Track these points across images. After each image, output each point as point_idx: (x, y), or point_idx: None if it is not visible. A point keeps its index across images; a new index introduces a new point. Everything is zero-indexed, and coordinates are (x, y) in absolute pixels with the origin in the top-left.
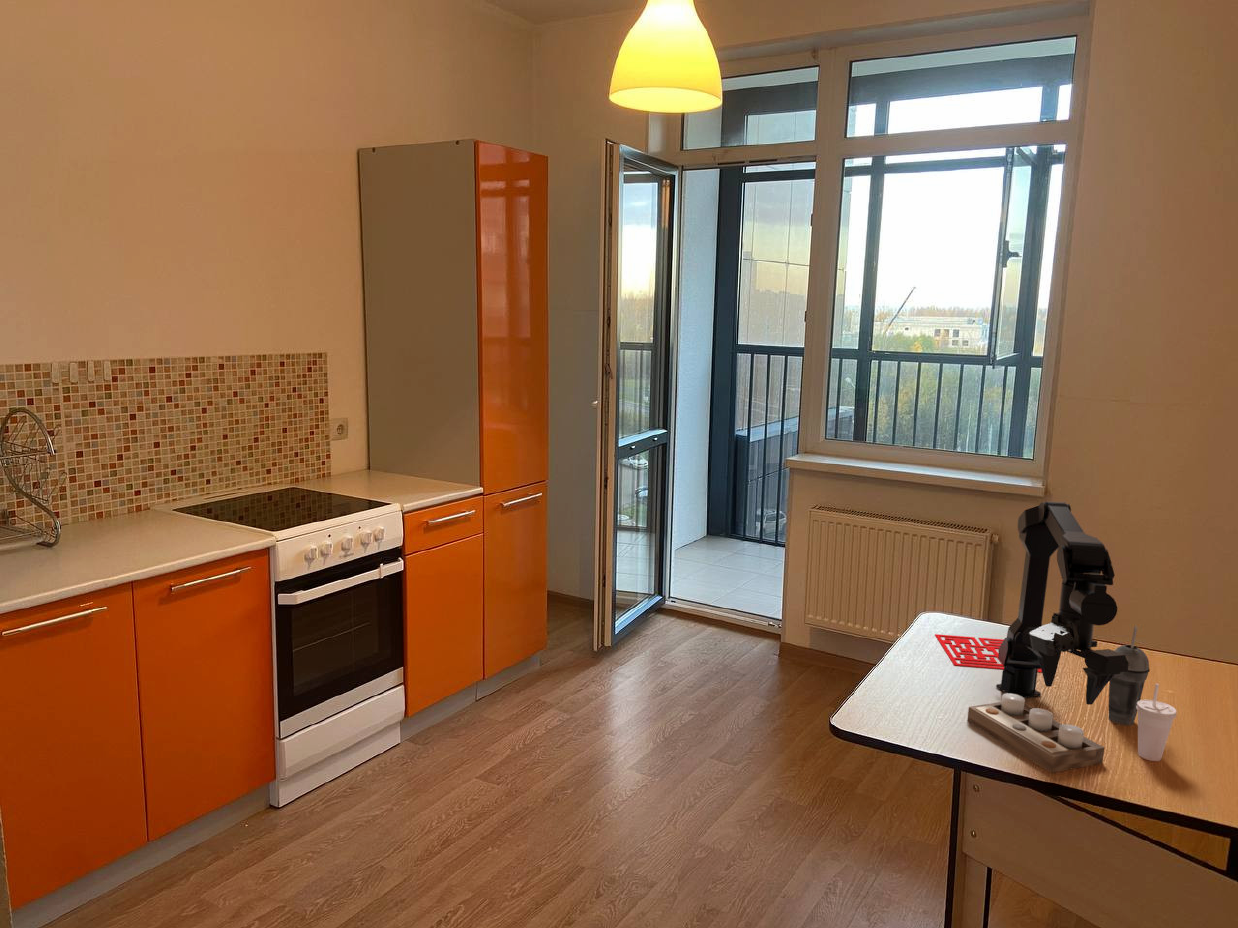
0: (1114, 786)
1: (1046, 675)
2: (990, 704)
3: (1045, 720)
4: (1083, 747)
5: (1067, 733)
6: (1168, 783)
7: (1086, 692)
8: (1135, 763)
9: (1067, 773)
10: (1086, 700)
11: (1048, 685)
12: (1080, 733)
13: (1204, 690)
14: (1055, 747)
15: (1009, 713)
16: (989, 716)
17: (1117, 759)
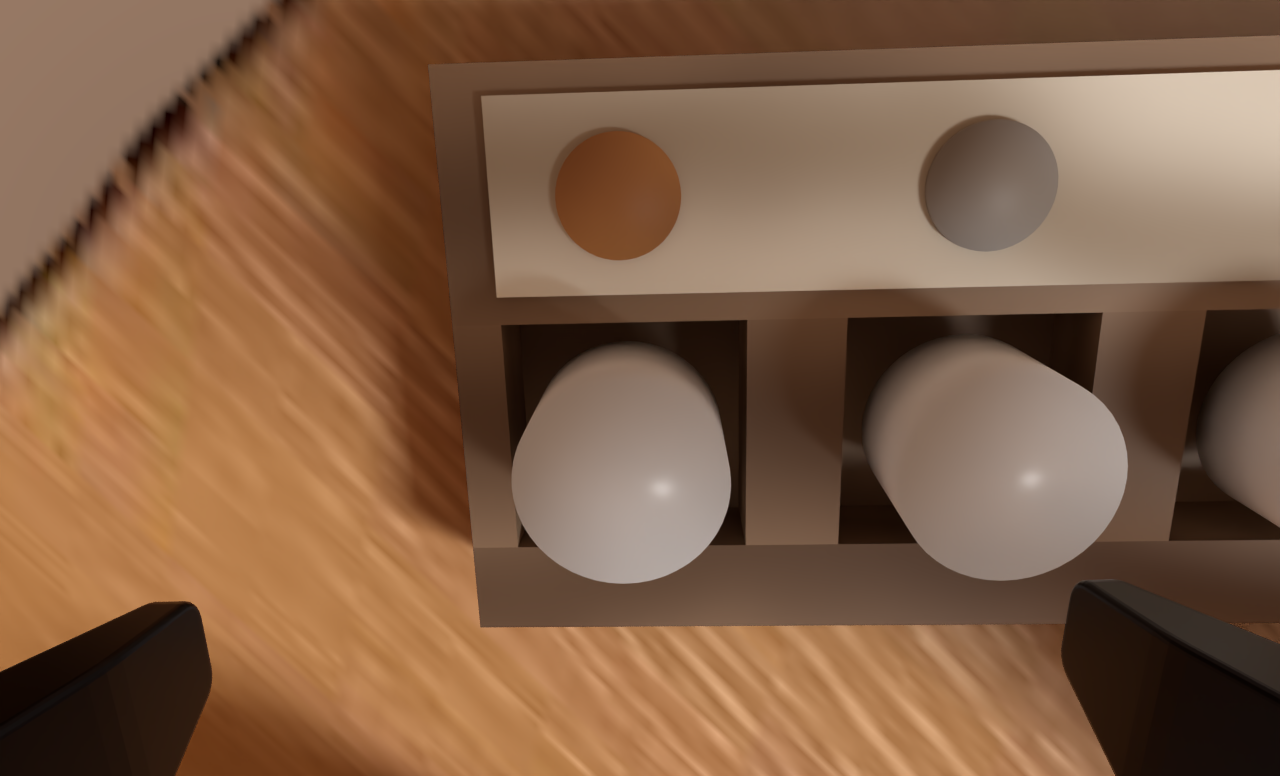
0: (217, 385)
1: (1236, 685)
2: None
3: (901, 429)
4: None
5: (569, 385)
6: (208, 731)
7: (12, 707)
8: (457, 750)
9: (433, 200)
10: (140, 620)
11: (1078, 611)
12: (526, 498)
13: None
14: (558, 217)
15: (1269, 349)
16: None
17: (526, 691)
